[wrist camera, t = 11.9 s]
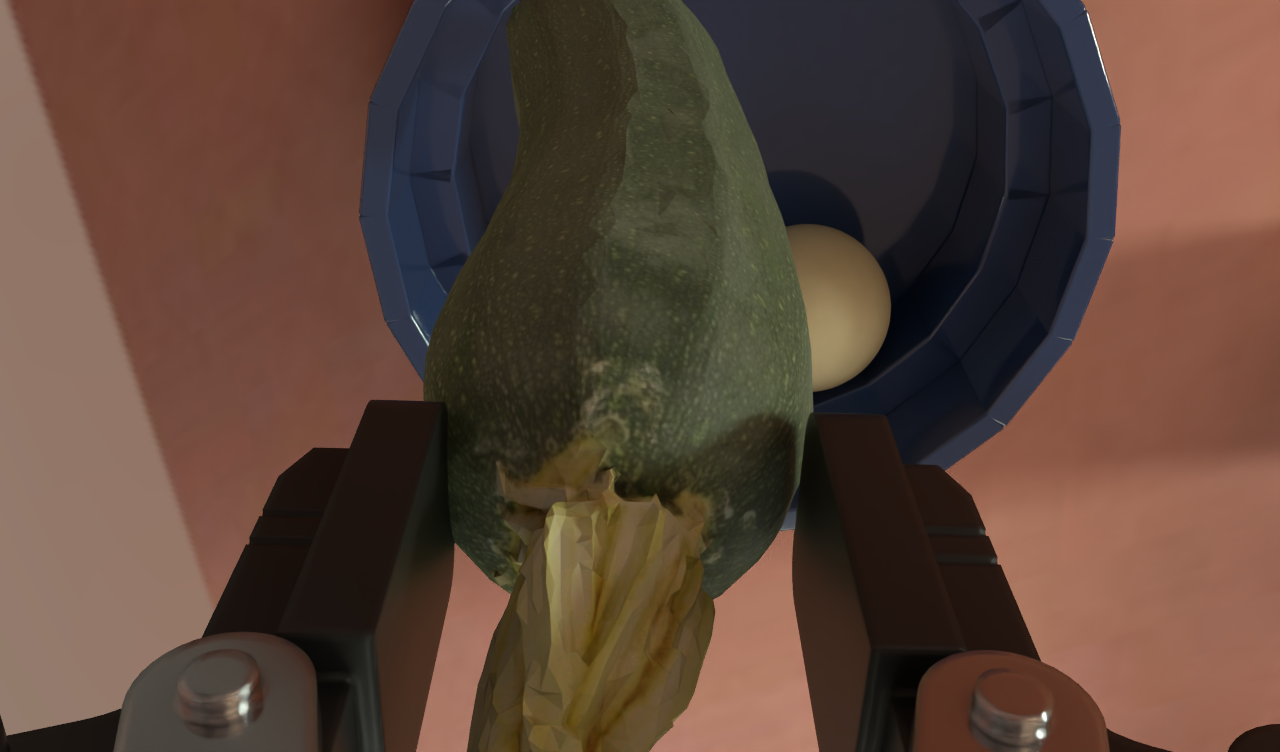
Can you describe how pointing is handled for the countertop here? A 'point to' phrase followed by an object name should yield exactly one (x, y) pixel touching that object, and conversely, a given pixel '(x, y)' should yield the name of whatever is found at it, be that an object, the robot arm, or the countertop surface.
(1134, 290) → the countertop surface
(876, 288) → the ball
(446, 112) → the bowl
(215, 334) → the countertop surface
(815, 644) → the robot arm
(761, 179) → the vegetable
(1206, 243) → the countertop surface
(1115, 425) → the countertop surface
